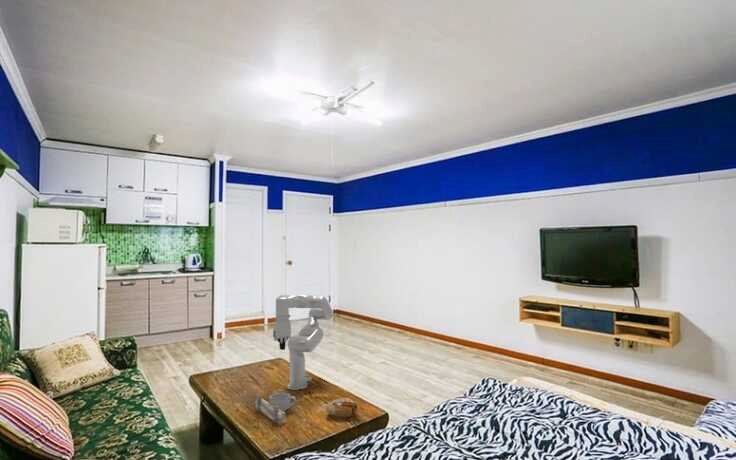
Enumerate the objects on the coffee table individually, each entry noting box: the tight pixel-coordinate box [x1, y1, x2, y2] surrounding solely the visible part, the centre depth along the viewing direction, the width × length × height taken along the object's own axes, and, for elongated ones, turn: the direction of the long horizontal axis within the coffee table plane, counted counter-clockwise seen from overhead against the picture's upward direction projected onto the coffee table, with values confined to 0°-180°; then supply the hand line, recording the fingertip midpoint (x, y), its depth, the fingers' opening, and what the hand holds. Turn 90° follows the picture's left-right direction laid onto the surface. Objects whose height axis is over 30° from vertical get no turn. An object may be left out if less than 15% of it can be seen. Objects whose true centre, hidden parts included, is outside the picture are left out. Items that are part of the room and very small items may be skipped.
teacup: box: [269, 392, 297, 413], centre depth 199 cm, size 14×11×8 cm
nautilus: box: [325, 397, 362, 422], centre depth 191 cm, size 8×22×15 cm
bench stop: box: [255, 394, 287, 426], centre depth 193 cm, size 4×26×8 cm, turn 43°
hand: (282, 349), depth 220 cm, fingers closed
